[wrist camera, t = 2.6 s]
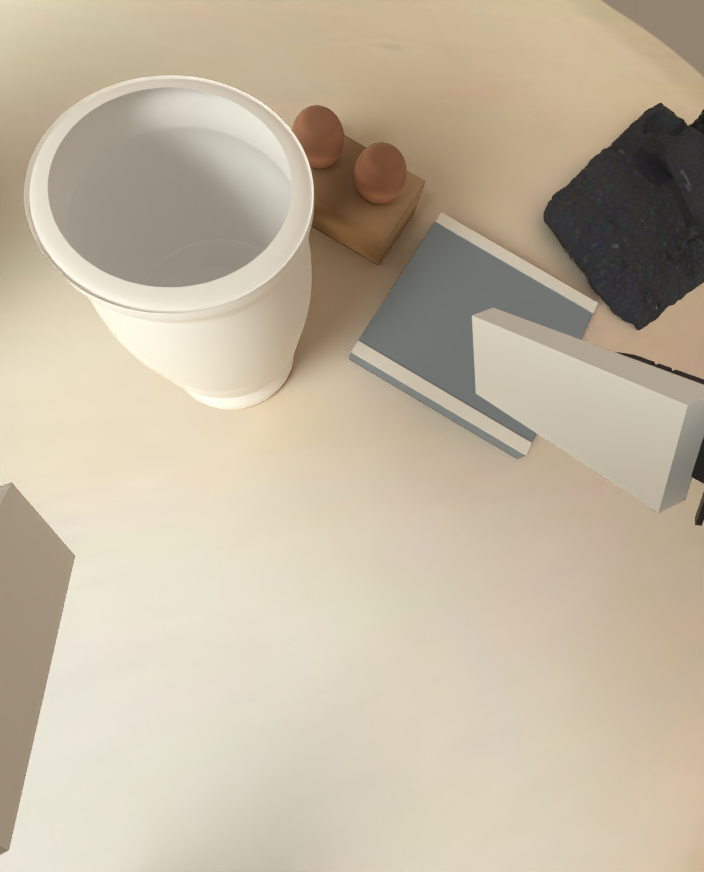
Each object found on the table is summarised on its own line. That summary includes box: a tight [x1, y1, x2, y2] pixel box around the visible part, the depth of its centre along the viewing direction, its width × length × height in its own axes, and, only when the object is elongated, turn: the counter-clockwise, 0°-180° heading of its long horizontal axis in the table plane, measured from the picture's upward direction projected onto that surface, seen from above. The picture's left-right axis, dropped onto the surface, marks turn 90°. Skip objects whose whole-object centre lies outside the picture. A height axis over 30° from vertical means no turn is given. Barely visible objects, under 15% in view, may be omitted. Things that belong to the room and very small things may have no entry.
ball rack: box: [292, 105, 425, 265], centre depth 31 cm, size 10×6×6 cm, turn 60°
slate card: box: [349, 212, 598, 459], centre depth 32 cm, size 14×14×1 cm
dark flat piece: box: [544, 103, 704, 330], centre depth 36 cm, size 15×22×5 cm
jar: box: [24, 75, 314, 409], centre depth 23 cm, size 11×10×15 cm
